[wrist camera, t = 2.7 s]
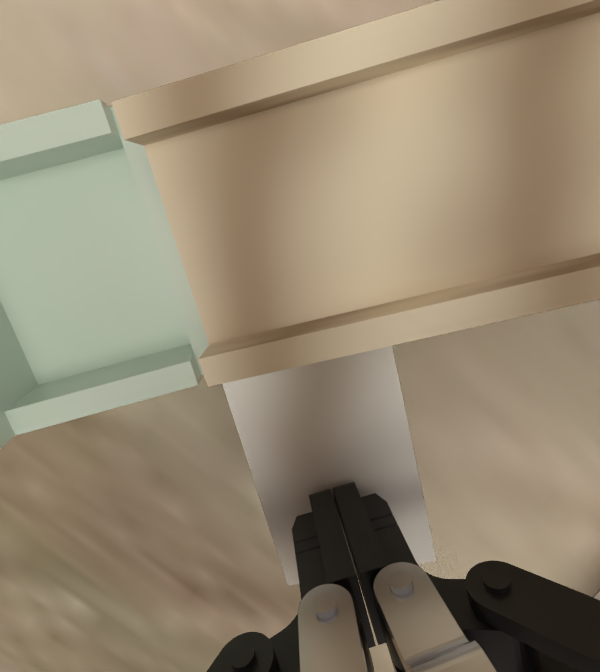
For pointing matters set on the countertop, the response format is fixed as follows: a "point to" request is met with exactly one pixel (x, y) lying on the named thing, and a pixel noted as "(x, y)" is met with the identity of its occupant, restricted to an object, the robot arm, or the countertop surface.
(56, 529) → the countertop surface
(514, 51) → the board
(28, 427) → the bin
